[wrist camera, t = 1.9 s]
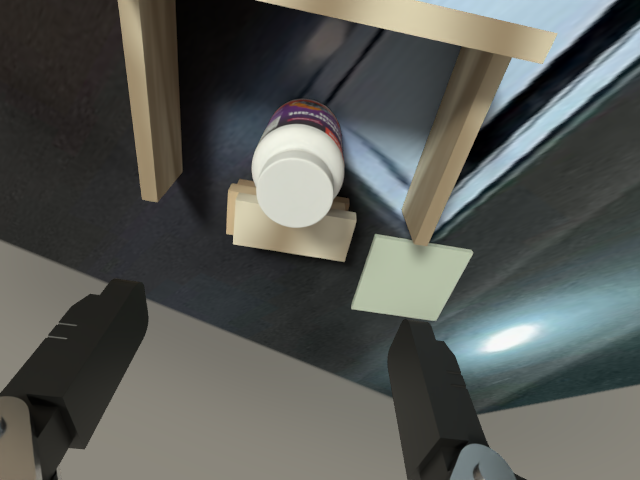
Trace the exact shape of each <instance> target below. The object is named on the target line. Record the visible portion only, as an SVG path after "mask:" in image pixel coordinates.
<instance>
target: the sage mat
mask: <svg viewBox="0 0 640 480" xmlns="http://www.w3.org/2000/svg"><path fill="white" fill-rule="evenodd" d="M472 255H473V252H472V250H469V249H463V248H457V247H451V246H445V245H439V244H433V243H428V245H427V246H422V245H416V244H414V243H413V240H408V239H402V238H396V237H390V236H384V235H378V234H375V236H374V239H373V242H372V245H371V248H370V251H369V254H368V257H367V260H366V263H365V266H364V269H363V272H362V275H361V278H360V281H359V284H358V287H357V290H356V293H355V296H354V299H353V302H352V305H351V309H355V310H362V311H369V312H376V313H383V314H390V315H397V316H404V317H411V318H418V319H425V320H432V321H436V320H437V318H438V316H439V315H440V313H441V311H442V309H443V307H444V305H445V304H446V302H447V300H448V298H449V296H450V295H451V293H452V291H453V289H454V287H455V285H456V284H457V282H458V280H459V278H460V276H461V275H462V273H463V271H464V269H465V267H466V265H467V264H468V262H469V260H470V258H471V256H472Z"/></svg>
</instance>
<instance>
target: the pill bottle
mask: <svg viewBox="0 0 640 480" xmlns="http://www.w3.org/2000/svg"><path fill="white" fill-rule="evenodd" d="M344 166H345V165H344V158H343V149H342V137H341V130H340V126H339V123H338V120H337V119H336V117H335V115H334V114H333V113H332V111H331V110H330V109H329V108H327V107H326V106H325V105H323V104H322V103H320V102H318V101H315V100H311V99H303V98H302V99H295V100H291V101H289V102H287V103H285V104H283V105H282V106H281V107H279V108H278V109H277V111H276V112H275V113H274V114H273V116H272V118H271V119H270V121H269V123H268V125H267V127H266V129H265V131H264V133H263V135H262V137H261V139H260V142H259V144H258V146H257V148H256V150H255V153H254V156H253V160H252V176H253V180H254V183H255V186H256V195H257V200H258V203H259V205H260V207H261V209H262V210H263V212H264V213H265V214H266V215H267V216H268V217H269V218H270V219H271V220H273V221H274V222H276V223H278V224H280V225H283V226H286V227H291V228H302V227H307V226H310V225H313V224H315V223H317V222H318V221H320V220H321V219H322V218H324V216H325V215H326V214H327V213H328V211H329V210H330V208H331V206H332V202H333V199H334V198H335V197H336V196H337V194H338V193H339V191H340V188H341V186H342V183H343V179H344V169H345V168H344Z"/></svg>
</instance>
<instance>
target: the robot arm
mask: <svg viewBox="0 0 640 480" xmlns="http://www.w3.org/2000/svg"><path fill="white" fill-rule="evenodd" d="M147 326H148V310H147V303H146V296H145V289H144V285H143V283H142V282H136V281H129V280H121V279H113V280H111V281H110V282H109V284H108V285H107V286H106V288H105V289H104V290H103V292H102V293H101V294H100V295H94V294H89V295H88V296H86V297H85V298H83V299H82V300H80V301H79V302H77V303H76V304H74V305H73V306H72V307H71V308H70V309H69V310H68V311H67V313H66V314H65V315H64V316H63V317H62V319H61V320H60V321H59V324H58V325H56V326H55V327H54V329H53V330H52V331H51V332H50V333H49V335H48V338H45V339H44V341H43V342H42V343H41V344H40V346H39V347H38V348H37V349H36V351H35V352H34V353H33V354H32V356H31V357H30V358H29V359H28V360H27V361H26V363H25V364H24V365H23V367H22V368H21V369H20V370H19V371H18V373H17V374H16V375H15V376H14V377H13V379H12V380H11V381H10V382H9V384H8V385H7V386H6V387H5V388H4V389H3V391H2V392H1V393H0V480H62V478H61V472H60V466H59V464H60V462H61V460H62V459H63V457H64V455H65V453H66V451H67V450H68V448H76V449H85V448H86V446H87V444H88V442H89V440H90V438H91V436H92V435H93V433H94V431H95V429H96V427H97V425H98V423H99V421H100V419H101V417H102V415H103V414H104V412H105V410H106V408H107V406H108V404H109V402H110V400H111V399H112V397H113V395H114V393H115V391H116V389H117V387H118V385H119V383H120V382H121V380H122V378H123V376H124V374H125V372H126V370H127V368H128V367H129V364H130V363H131V361H132V359H133V357H134V355H135V353H136V351H137V349H138V347H139V346H140V344H141V342H142V340H143V338H144V336H145V333H146V330H147ZM388 372H389V377H390V383H391V389H392V395H393V400H394V406H395V412H396V417H397V423H398V429H399V434H400V440H401V446H402V451H403V457H404V463H405V468H406V474H407V479H408V480H526V479H524V478H522V477H520V476H518V475H516V474H515V473H513V471H512V470H511V468H510V467H509V465H508V464H507V463H506V461H505V460H504V459H503V458H502V457H501V456H500V455H499V454H498V453H496V452H495V451H494V450H492V449H491V448H490V447H489V445H488V443H487V441H486V438H485V436H484V433H483V430H482V428H481V425H480V422H479V419H478V417H477V414H476V411H475V409H474V406H473V403H472V401H471V398H470V395H469V392H468V390H467V389H466V384H465V382H464V379H463V376H462V375H461V371H460V368H459V365H458V363H457V360H456V357H455V355H454V354H453V353H452V352H451V350H450V349H449V348H448V346H447V345H446V344H445V342H444V341H437V340H436V339H435V336H434V333H433V330H432V327H431V325H430V324H429V323H428V322H423V321H415V320H408V319H404V320H403V321H402V323H401V325H400V327H399V330H398V332H397V334H396V336H395V338H394V340H393V342H392V344H391V347H390V349H389V353H388Z"/></svg>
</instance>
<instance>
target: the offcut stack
mask: <svg viewBox="0 0 640 480" xmlns="http://www.w3.org/2000/svg"><path fill="white" fill-rule="evenodd" d="M349 205H350V203H349V198H344V197H338V196H336V197H335V198H334V199H333V202H332V206H331V208H330V210H329V211H328V213H327V214H326V215H325V216H324V218H322V219H321V220H320V221H318V222H317V223H315V224H313V225H310V226H307V227H302V228H291V227H286V226H283V225H280V224H278V223H276V222H274V221H273V220H271V219H270V218H269V217H268V216H267V215H266V214H265V213H264V212H263V210H262V209H261V207H260V205H259V203H258V200H257V195H256V186H255V183H254V181H248V180H242V179H239V181H238V183H237V184H231V186H230V188H229V190H228V206H227V230H226V234H230V235H233V244H235V245H242V246H248V247H254V248H260V249H267V250H273V251H279V252H285V253H292V254H298V255H304V256H311V257H317V258H323V259H329V260H336V261H342V262H345V258H346V255H347V252H348V248H349V245H350V242H351V238H352V235H353V231H354V228H355V225H356V221H357V220H356V213H355V212H349V211H348V208H349Z"/></svg>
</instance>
